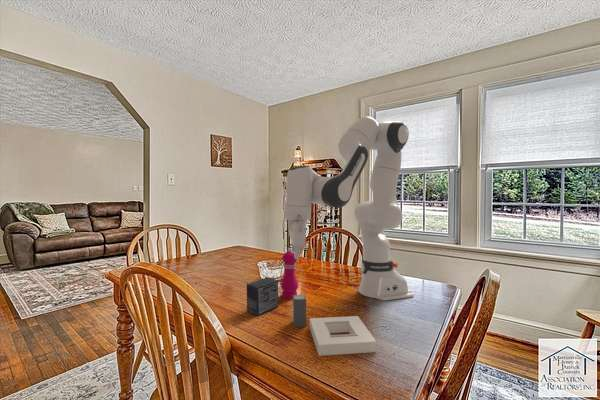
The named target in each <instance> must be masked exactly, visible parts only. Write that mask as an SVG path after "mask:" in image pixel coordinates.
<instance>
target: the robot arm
mask: <svg viewBox="0 0 600 400" xmlns="http://www.w3.org/2000/svg"><path fill="white" fill-rule="evenodd" d="M409 132H410V131H409V128H408V126H407V125H406V123H405V122H402V121H398V120H393V121H379V122H377V120H376V119H374V118H373V117H371V116H367V115H366V116H361V117H360V118H358V119H357V120H356V121H354V122H353V124H351V125H350V126H349V128H348V129H347V130H346V131H345V132H344V134H343V135H342V136H341V138H340V139H339V141H338V144H337V145H338V146H337V147H338V152H339V154H340V155H341V157H342V158H343V159H344V160H345V161H346V163H345V165H344V167H343V168H342V170H341V171H340V173H338V174H337V175H334V176H321V175H320V174H318V173H317V172H316V171H315V170H313V168H312V166H310V165H307V164H305V165H295V166H291V167H290V168H289V169H288V171H287V175H286V182H285V195H286V197H285V199H286V200H285V201H284V216H283V217H284V220H287V224H288V225H287V226H288V227H287V228H288V236H289V238H290V240H291V249H292V252H293V253H294V258H295V259H297V260H300V259H301V255H302V253H301V252H302V250H303V249H302V248H305V246H306V240H307V239H306V238H307V222H308V221H310V220H311V218H312V204H314V205H315V204H316V205H320V206H327V207H331V208H334V209H335V208H336V209H341V208H343V207H345V206H346V205H347V204H348V203H349V201H350V200H351V198H352V196H353V195H352V194H353V191H354V187H355V185H356V183H357V182H358V179H359V178H360V176H361V173H362V172H363V170H364V168H365V166H366V164H367V163H368V162H367V161H368V159H369V150H371V151H373V150H374V151H376V157H375V160H374V164H373V168H372V172H371V177H370V182H369V187H370V189H371V191H372V200H366V201H363V202H360V203H359V204H357V205H356V206H355V209H354V212H353V213H354V218H355V220H356V221H357V222H358V225H359V229H360V234H361V239H362V259H361V266H360V267H361V279H360V283H359V284H360V285H359V287H358V293H359V294H360V295H362V296H364V297H366V298H367V297H368V298H373V299H377V300H380V301H390V300H391V301H392V300H398V299H406V298H412V297H414V292H413V290H412V289H410V288H409V286H408V282H407V279H406V278H405V277H404V276H403V275H401V273H399V271H397V270H396V268H398V267H399V264H398V263H397V262H395V261H393V260H391V259H390V252H391V251H390V249H391V248H390V247H391V244H390V240H389V238H388V237H387V235H386V234H385V230H394V229H396V228H398V227H400V225H401V223H402V221H403V212H402V209H401V207H399V203H398V200H397V198H398V197H397V190H398V189H397V187H398V184H399V183H398V182H399V177H400V172H401V166H402V150H403V149H404V147H405V146H406V144H407V142H408V140H409V134H410V133H409ZM394 268H395V269H394Z"/></svg>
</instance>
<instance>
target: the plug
mask: <svg viewBox="0 0 600 400" xmlns="http://www.w3.org/2000/svg"><path fill="white" fill-rule="evenodd" d="M292 325H293V327H294V328H301V327H305V328H306V327H307V297H306V295H305V294H297V295H293V299H292Z"/></svg>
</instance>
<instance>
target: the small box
mask: <svg viewBox="0 0 600 400" xmlns="http://www.w3.org/2000/svg"><path fill="white" fill-rule="evenodd" d="M278 282H279V279H275V278H271V277H264V278H261V279H258V280H254V281H252V282H248V283H246V312H247V313H249V314H251V315H255V316H257V317H259V316H263V315H264V314H266V313H268V312H270V311H273V310H275V309H277V308H279V289H278V288H279V286H278V285H279V283H278Z"/></svg>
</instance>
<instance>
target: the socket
mask: <svg viewBox="0 0 600 400" xmlns="http://www.w3.org/2000/svg"><path fill="white" fill-rule="evenodd" d="M309 330H310V333H311V335H312V340H313V342H314V345H315V349H316V352H317V354H318V355H317V356H319V357H321V356H337V355H338V356H339V355H353V354H366V353H367V354H368V353H377V340H376V339H375V337H374V336H373V335H372V333H371V332H370V331H369V329H368V328H367V327H366V324H364V322H363V320H361V318H360V317H359V316H358V315H353V316H352V315H351V316H334V317H331V316H330V317H313V318H312V317H311V318H309ZM336 333H338V334H336ZM340 333H343V334H340Z"/></svg>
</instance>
